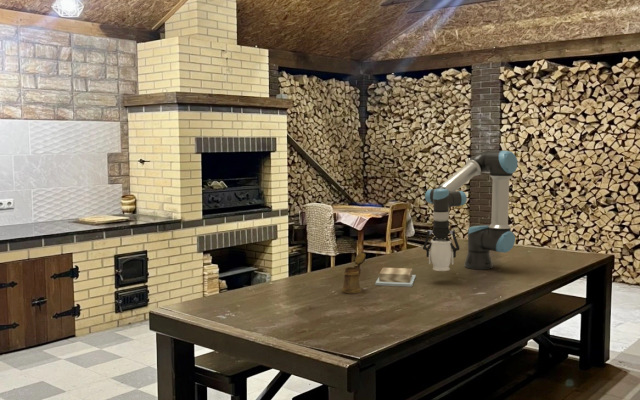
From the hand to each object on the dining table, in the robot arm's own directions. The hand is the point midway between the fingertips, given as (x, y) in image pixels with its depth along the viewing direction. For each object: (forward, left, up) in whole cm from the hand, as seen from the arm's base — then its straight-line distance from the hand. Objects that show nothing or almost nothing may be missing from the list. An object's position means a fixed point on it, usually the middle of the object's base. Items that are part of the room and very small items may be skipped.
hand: (441, 263), depth 334 cm
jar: (0, 0, -3) cm, 3 cm away
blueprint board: (+22, +2, -9) cm, 24 cm away
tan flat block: (+22, +2, -8) cm, 24 cm away
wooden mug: (+39, +26, -9) cm, 48 cm away
